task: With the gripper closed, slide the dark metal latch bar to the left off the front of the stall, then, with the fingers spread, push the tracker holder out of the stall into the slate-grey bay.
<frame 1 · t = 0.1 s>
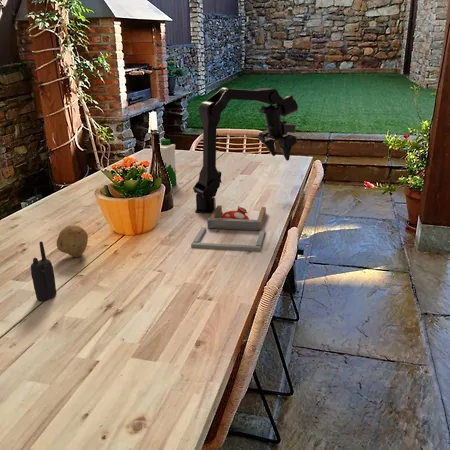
hand: (281, 158, 189), 15 cm above the table, tool pointing down, fingers open, 9 cm apart
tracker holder: (238, 221, 169), on the table
potato: (74, 257, 143), on the table
two-way radio: (48, 298, 120), on the table
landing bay: (229, 238, 153), on the table
latch bar: (234, 224, 160), point 2 cm above the table, slide at 0.0 cm
stall: (238, 219, 169), on the table
milk carton: (165, 185, 211), on the table
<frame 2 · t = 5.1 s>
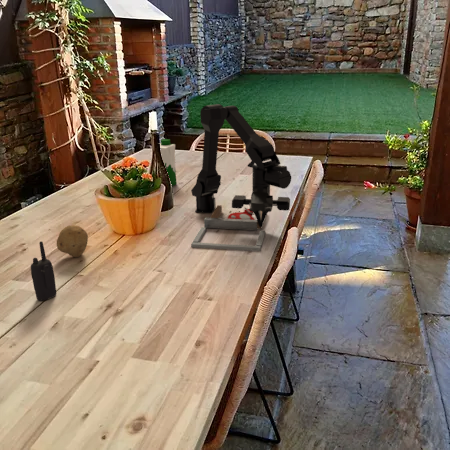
hand: (260, 226, 159), 1 cm above the table, tool pointing down, fingers closed
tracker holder: (244, 223, 167), on the table
latch bar: (230, 223, 161), point 2 cm above the table, slide at 1.1 cm, touching gripper
everything else where it was.
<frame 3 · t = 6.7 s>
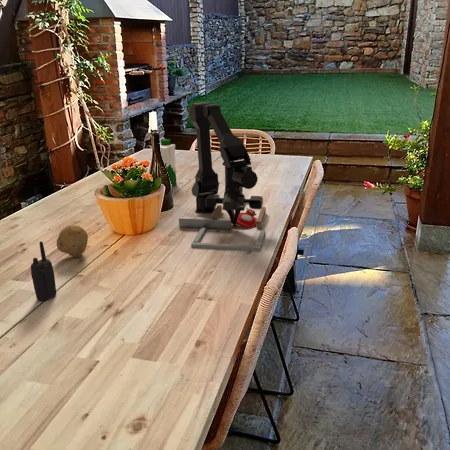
hand: (234, 225, 160), 1 cm above the table, tool pointing down, fingers closed
latch bar: (205, 222, 162), point 2 cm above the table, slide at 10.1 cm, touching gripper
everything else where it was.
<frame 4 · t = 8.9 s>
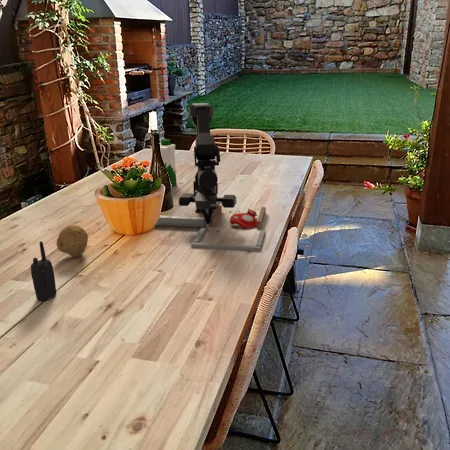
hand: (208, 224, 162), 1 cm above the table, tool pointing down, fingers closed
latch bar: (179, 221, 164), point 2 cm above the table, slide at 19.1 cm, touching gripper
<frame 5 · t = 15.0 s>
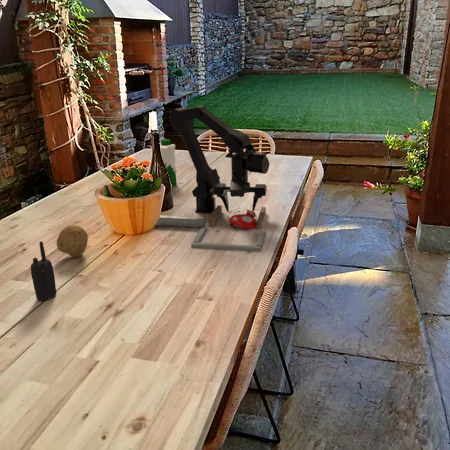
hand: (240, 212, 172), 2 cm above the table, tool pointing down, fingers open, 9 cm apart
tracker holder: (246, 225, 165), on the table, touching gripper
latch bar: (179, 221, 164), point 2 cm above the table, slide at 19.2 cm
everything else where it was.
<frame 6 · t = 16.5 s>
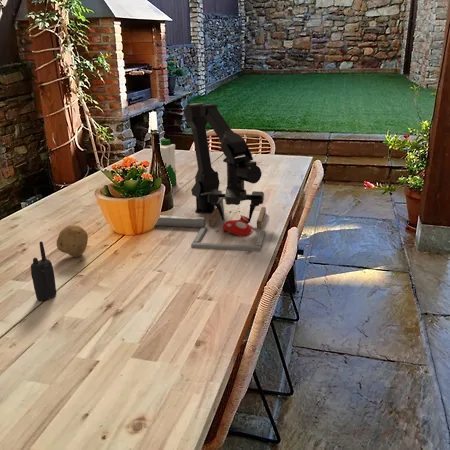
hand: (236, 220, 164), 2 cm above the table, tool pointing down, fingers open, 9 cm apart
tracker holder: (240, 231, 160), on the table
everything else where it was.
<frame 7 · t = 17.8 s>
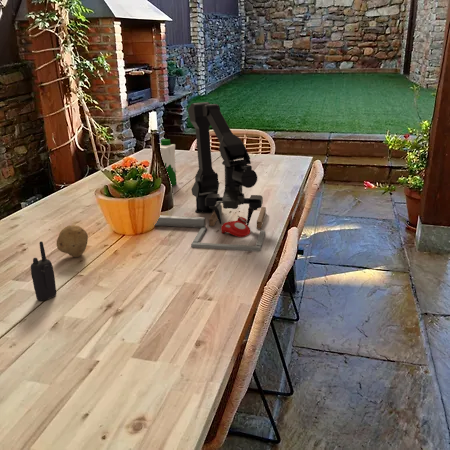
hand: (234, 224, 160), 2 cm above the table, tool pointing down, fingers open, 9 cm apart
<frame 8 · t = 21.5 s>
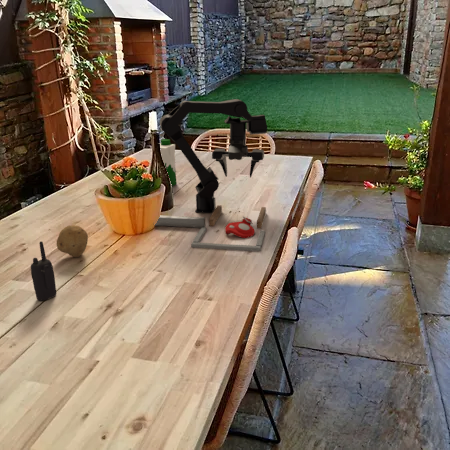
hand: (238, 176, 178), 12 cm above the table, tool pointing down, fingers open, 9 cm apart
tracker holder: (243, 233, 159), on the table
everything else where it was.
at the end: latch bar slide at 19.2 cm; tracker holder inside the target area (6.5 cm from its centre), on the table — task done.
